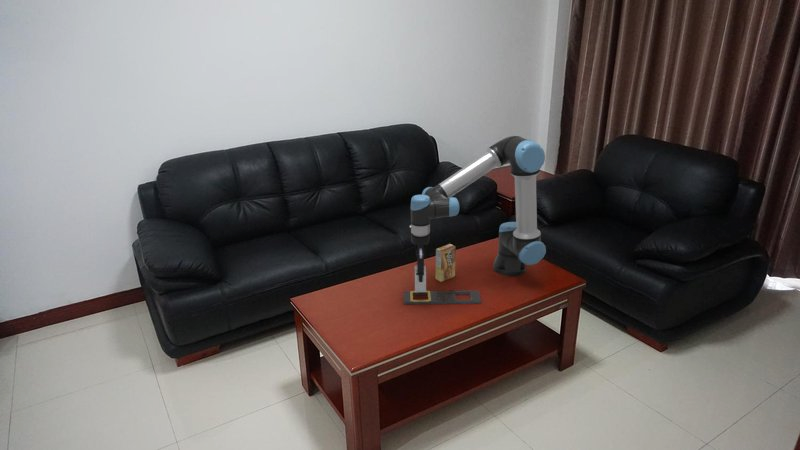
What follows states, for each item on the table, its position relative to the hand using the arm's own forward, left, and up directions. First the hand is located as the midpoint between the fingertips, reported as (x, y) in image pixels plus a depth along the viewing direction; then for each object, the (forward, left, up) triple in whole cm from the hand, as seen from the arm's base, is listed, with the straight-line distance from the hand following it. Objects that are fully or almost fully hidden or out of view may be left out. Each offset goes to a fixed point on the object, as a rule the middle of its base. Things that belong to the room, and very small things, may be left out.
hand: (420, 284), depth 206 cm
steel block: (0, 0, -2) cm, 2 cm away
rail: (-9, 0, -7) cm, 11 cm away
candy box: (-12, -19, -7) cm, 24 cm away
